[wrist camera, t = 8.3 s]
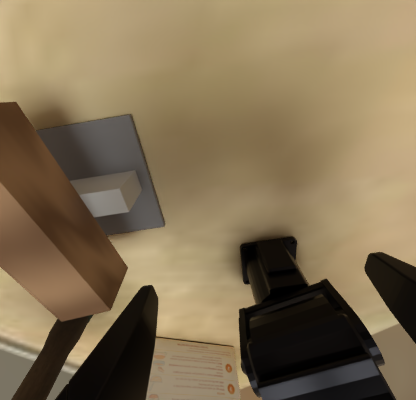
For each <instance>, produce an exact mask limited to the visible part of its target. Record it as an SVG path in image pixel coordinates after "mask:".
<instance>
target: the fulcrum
mask: <svg viewBox="0 0 416 400" xmlns="http://www.w3.org/2000/svg"><path fill="white" fill-rule="evenodd" d="M36 132H37V134H38V135H39V137H40V138H41V140H42V141H43V143H44V144H45V145H46V147H47V148H48V150H49V151H50V153H51V154H52V156H53V157H54V159H55V160H56V162H57V163H58V165H59V166H60V168H61V169H62V171H63V172H64V174H65V175H66V177H67V178H68V180H69V181H70V183H71V184H72V186H73V187H74V188H75V190H76V191H77V193H78V194H79V196H80V197H81V199H82V200H83V202H84V203H85V205H86V206H87V208H88V209H89V211H90V212H91V214H92V215H93V217H94V218H95V220H96V221H97V223H98V224H99V226H100V227H101V229H102V230H103V232H104V233H105V234H106V235H113V234H119V233H126V232H132V231H139V230H145V229H152V228H158V227H164V226H165V222H164V219H163V215H162V212H161V209H160V206H159V202H158V199H157V196H156V193H155V190H154V186H153V183H152V180H151V177H150V173H149V170H148V167H147V164H146V161H145V157H144V154H143V151H142V148H141V145H140V141H139V138H138V135H137V132H136V128H135V125H134V122H133V119H132V116H131V114H129V115H124V116H118V117H112V118H106V119H100V120H94V121H88V122H83V123H77V124H71V125H65V126H59V127H53V128H48V129H42V130H36Z"/></svg>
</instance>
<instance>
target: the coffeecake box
mask: <svg viewBox="0 0 416 400" xmlns="http://www.w3.org/2000/svg"><path fill="white" fill-rule="evenodd" d="M146 400H241V396H240V389H239V382H238V375H237V368H236V361H235V354H234V348H233V347H230V346H221V345H212V344H204V343H196V342H188V341H180V340H173V339H164V338H156V341H155V348H154V354H153V360H152V366H151V372H150V378H149V384H148V390H147V396H146Z"/></svg>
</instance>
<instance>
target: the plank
mask: <svg viewBox="0 0 416 400" xmlns="http://www.w3.org/2000/svg"><path fill="white" fill-rule="evenodd" d="M0 267H1V268H2V269H3V270H5V271H6V272H7V273H8V274H9V275H10V276H11V277H12V278H13V279H15V280H16V281H17V282H18V283H19V284H20V285H21V286H22V287H23V288H25V289H26V290H27V291H28V292H29V293H30V294H31V295H32V296H33V297H35V298H36V299H37V300H38V301H39V302H40V303H41V304H42V305H43V306H45V307H46V308H47V309H48V310H49V311H50V312H51V313H52V314H53V315H55V316H56V317H57V318H58V319H59V320H60V321H61V322H62V321H67V320H71V319H75V318H80V317H84V316H88V315H93V314H97V313H101V312H106V311H110V310H111V308H112V306H113V303H114V301H115V298H116V296H117V294H118V291H119V289H120V286H121V284H122V281H123V279H124V276H125V274H126V271H127V269H128V267H127V266H126V264H125V263H124V261H123V260H122V258H121V257H120V255H119V254H118V252H117V251H116V249H115V248H114V246H113V245H112V243H111V242H110V240H109V239H108V237H107V236H106V234H105V233H104V232H103V230H102V229H101V227H100V226H99V224H98V223H97V221H96V220H95V218H94V217H93V215H92V214H91V212H90V211H89V209H88V208H87V206H86V205H85V203H84V202H83V200H82V199H81V197H80V196H79V194H78V193H77V191H76V190H75V188H74V187H73V186H72V184H71V183H70V181H69V180H68V178H67V177H66V175H65V174H64V172H63V171H62V169H61V168H60V166H59V165H58V163H57V162H56V160H55V159H54V157H53V156H52V154H51V153H50V151H49V150H48V148H47V147H46V145H45V144H44V143H43V141H42V140H41V138H40V137H39V135H38V134H37V132H36V131H35V129H34V128H33V126H32V125H31V123H30V122H29V120H28V119H27V117H26V116H25V114H24V113H23V111H22V110H21V108H20V107H19V105H18V104H17V102H3V103H0Z"/></svg>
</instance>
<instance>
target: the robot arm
mask: <svg viewBox="0 0 416 400" xmlns="http://www.w3.org/2000/svg"><path fill="white" fill-rule="evenodd" d="M291 241H292V242H291ZM296 247H297V240H296V239H295V238H294V237H287V238H281V239H274V240H267V241H260V242H254V243H247V244H242V245H241V246H240V254H241V264H242V274H243V282H244V284H250V285H251V289H252V292H253V296H254V300H255V303H256V305H253V306H251V307H248V308H242V309H239V317H240V318H239V332H240V350H241V368H242V371H243V373H244V374H246V375H247V376H248V379H249V382H250V384H251V387H252V389H253V391H254V393H255V394H256V395H257V397H262V399H263V400H396V399H395V397H394V395H393V393H392V391H391V390H390V388H389V386H388V384H387V382H386V381H385V379H384V377H383V375H382V373H381V372H380V370H379V368H378V366H382V365H384V364H385V362H384V359H383V357H382V354H381V352H380V350H379V348H378V347H377V345H376V343H375V341H374V340H373V338H372V336H371V335H370V333H369V331H368V330H367V328H366V327H365V325H364V324H363V323H362V321H361V320H360V318H359V317H358V316H357V314H356V313H355V312H354V311H353V310H352V308H351V307H350V306H349V305H348V304H347V302H346V301H345V300H344V299H343V298H342V297H341V295H340V294H339V293H338V292H337V291H336V290H335V288H334V287H333V286H332V285H331V284H330V282H329V281H328V280H327V279H324V280H321V282H319V283H316V284H313V285H309V283H308V282H307V280H306V278H305V277H304V275H303V273H302V271H301V270H300V268H299V266H298V265H297V263H296V261H295V259H296ZM243 248H245V249H243ZM365 272H366V274H367V276H368V277H369V279H370V280H371V282H372V283H373V285H374V287H375V288H376V290H377V291H378V293H379V294H380V296H381V297H382V299H383V300H384V302H385V304H386V305H387V307H388V308H389V309H390V311H391V312H392V314H393V315H394V316H395V318H396V319H397V320H398V322H399V323H400V324H401V325H402V327H403V328H404V329H405V331H406V332H407V333H408V334H409V336H410V337H411V338H412V340H413V341H414V342H415V343H416V267H414V266H412V265H410V264H408V263H405V262H403V261H401V260H399V259H396V258H394V257H392V256H389V255H387V254H385V253H382V252H376V253H370V254H369V255H368V258H367V261H366V264H365ZM157 314H158V297H157V294H156V292H155V289H154V287H153V286H152V285H147V286H143V287H141V288H140V290H139V291H138V292H137V294H136V295H135V296H134V298H133V299H132V300H131V301H130V303H129V304H128V305H127V307H126V308H125V309H124V311H123V312H122V313H121V314H120V316H119V317H118V318H117V320H116V321H115V322H114V324H113V325H112V326H111V327H110V329H109V330H108V331H107V333H106V334H105V335H104V337H103V338H102V339H101V340H100V342H99V343H98V344H97V346H96V347H95V348H94V350H93V351H92V352H91V353H90V355H89V356H88V357H87V359H86V360H85V361H84V363H83V364H82V365H81V366H80V368H79V369H78V370H77V372H76V373H75V374H74V376H73V377H72V378H71V379H70V381H69V384H67V385H66V386H65V387H64V389H63V390H62V391H61V392H60V394H59V395H58V396H57V398H56V399H55V400H146V396H147V390H148V384H149V378H150V372H151V366H152V360H153V354H154V348H155V341H156V328H157Z"/></svg>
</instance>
